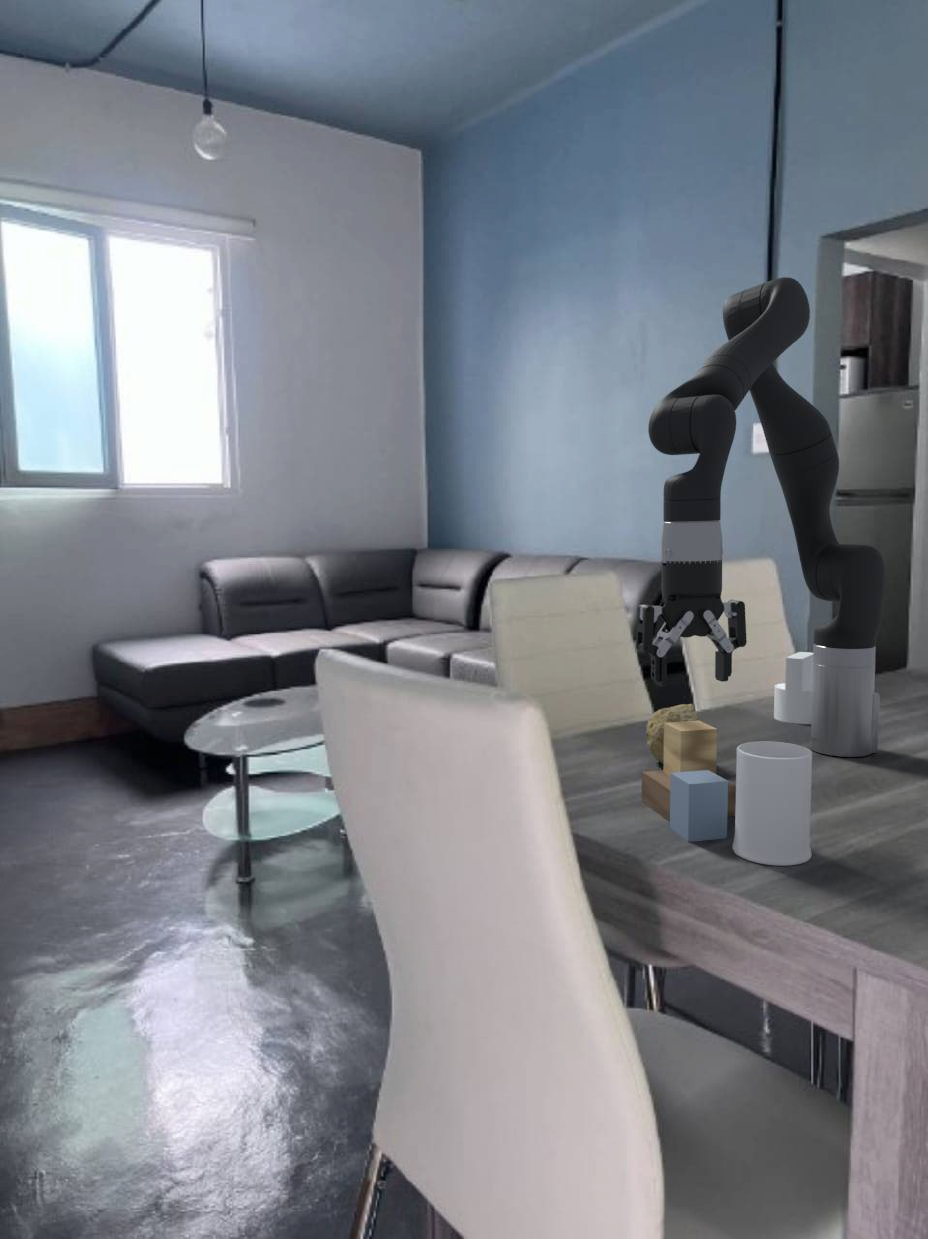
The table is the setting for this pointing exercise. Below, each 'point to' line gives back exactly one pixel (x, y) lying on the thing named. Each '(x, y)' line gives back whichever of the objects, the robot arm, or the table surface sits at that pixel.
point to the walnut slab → (659, 793)
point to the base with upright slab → (795, 690)
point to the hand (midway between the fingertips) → (691, 682)
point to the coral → (657, 726)
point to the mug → (773, 803)
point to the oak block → (689, 747)
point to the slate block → (698, 805)
